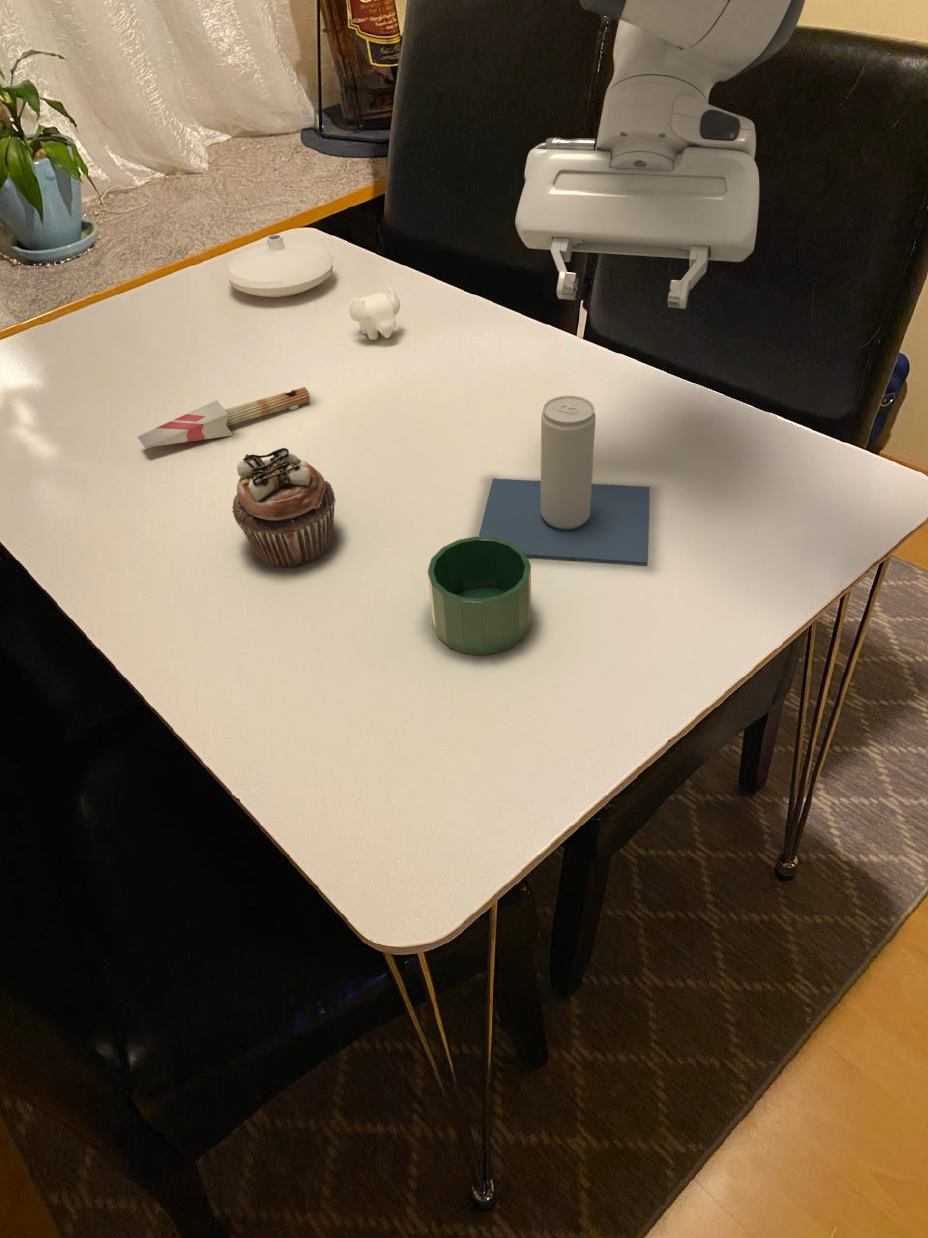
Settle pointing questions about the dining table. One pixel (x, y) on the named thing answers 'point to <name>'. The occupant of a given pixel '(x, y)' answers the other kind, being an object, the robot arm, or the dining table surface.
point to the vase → (279, 268)
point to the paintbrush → (219, 419)
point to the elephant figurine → (376, 313)
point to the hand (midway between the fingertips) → (620, 301)
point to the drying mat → (602, 538)
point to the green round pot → (480, 594)
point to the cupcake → (284, 508)
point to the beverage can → (567, 461)
